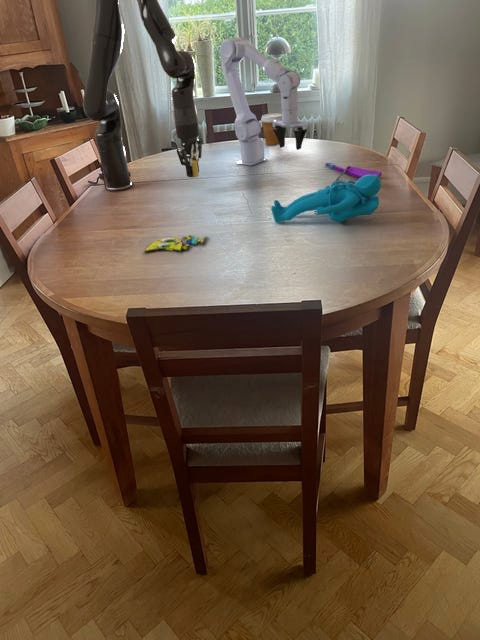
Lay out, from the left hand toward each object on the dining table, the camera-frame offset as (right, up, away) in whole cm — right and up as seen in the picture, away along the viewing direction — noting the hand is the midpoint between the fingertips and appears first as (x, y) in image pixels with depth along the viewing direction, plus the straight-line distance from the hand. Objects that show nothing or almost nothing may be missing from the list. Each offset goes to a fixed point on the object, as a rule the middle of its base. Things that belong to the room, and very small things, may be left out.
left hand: (193, 174), depth 164 cm
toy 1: (-1, -30, -34) cm, 45 cm away
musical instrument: (+53, +1, +4) cm, 54 cm away
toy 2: (+40, -21, -28) cm, 53 cm away
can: (0, 0, 0) cm, 1 cm away
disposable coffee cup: (+31, +30, +53) cm, 69 cm away
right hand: (+35, +15, +16) cm, 41 cm away
